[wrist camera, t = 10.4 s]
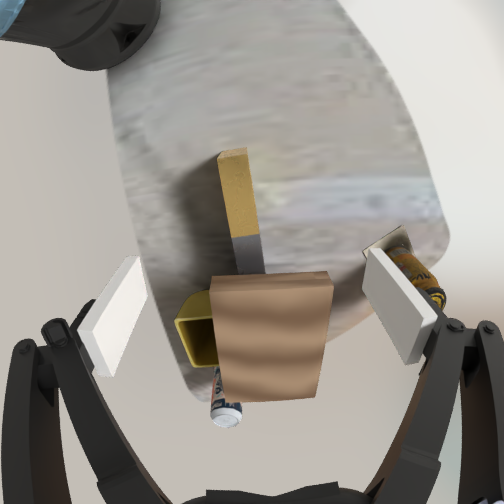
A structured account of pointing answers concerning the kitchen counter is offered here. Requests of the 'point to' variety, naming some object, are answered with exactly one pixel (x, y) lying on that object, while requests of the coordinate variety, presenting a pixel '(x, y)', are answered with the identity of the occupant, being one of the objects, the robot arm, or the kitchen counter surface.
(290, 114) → the kitchen counter surface
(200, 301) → the flower pot
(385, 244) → the condiment
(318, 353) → the small brown wooden table
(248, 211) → the two-tone wooden bar
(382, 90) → the kitchen counter surface
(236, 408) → the beer can
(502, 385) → the robot arm
